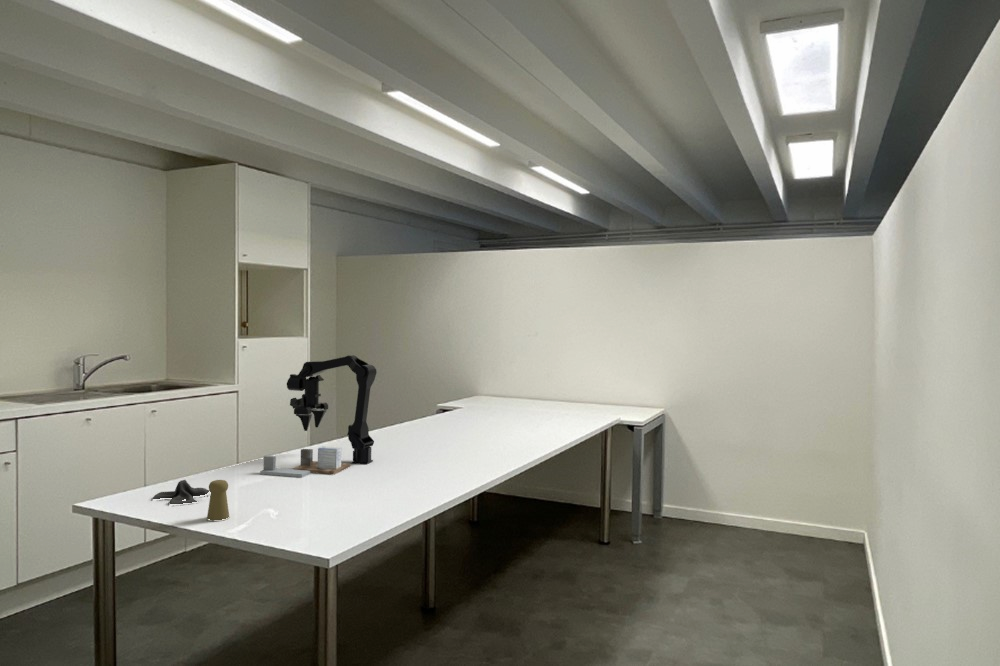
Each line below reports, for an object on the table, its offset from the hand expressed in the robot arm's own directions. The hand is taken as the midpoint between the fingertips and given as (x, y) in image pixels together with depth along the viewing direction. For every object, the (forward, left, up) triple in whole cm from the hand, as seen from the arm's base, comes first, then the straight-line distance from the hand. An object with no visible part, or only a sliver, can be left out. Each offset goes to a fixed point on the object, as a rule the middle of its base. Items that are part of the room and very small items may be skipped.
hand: (311, 429), depth 282 cm
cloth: (+8, +66, -13) cm, 68 cm away
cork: (-16, +84, -12) cm, 86 cm away
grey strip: (-5, +29, -12) cm, 32 cm away
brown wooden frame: (-14, +18, -12) cm, 26 cm away
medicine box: (-18, +19, -12) cm, 29 cm away
